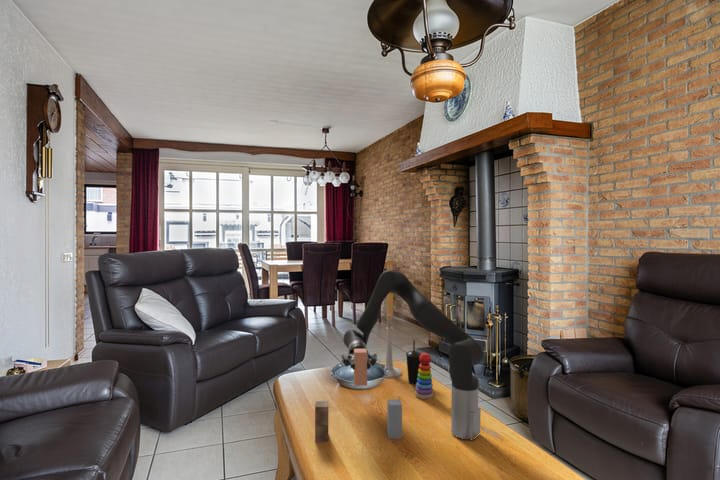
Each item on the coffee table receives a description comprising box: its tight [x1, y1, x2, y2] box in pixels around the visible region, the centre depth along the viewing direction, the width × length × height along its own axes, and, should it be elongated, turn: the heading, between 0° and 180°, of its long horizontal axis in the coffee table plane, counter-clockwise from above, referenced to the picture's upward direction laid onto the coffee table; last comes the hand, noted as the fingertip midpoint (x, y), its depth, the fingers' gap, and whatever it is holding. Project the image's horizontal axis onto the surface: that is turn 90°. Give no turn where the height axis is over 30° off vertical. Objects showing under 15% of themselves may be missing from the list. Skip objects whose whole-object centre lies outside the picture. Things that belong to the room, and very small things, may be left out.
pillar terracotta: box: [353, 349, 368, 387], centre depth 148 cm, size 4×4×12 cm
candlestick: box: [384, 313, 403, 379], centre depth 204 cm, size 13×13×30 cm
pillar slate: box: [386, 398, 403, 440], centre depth 144 cm, size 4×4×12 cm
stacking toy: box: [414, 352, 434, 400], centre depth 177 cm, size 8×8×19 cm
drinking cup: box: [405, 340, 422, 385], centre depth 192 cm, size 8×8×20 cm
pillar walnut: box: [314, 400, 329, 443], centre depth 142 cm, size 4×4×12 cm
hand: (361, 366), depth 145 cm, fingers closed on pillar terracotta, 4 cm apart
